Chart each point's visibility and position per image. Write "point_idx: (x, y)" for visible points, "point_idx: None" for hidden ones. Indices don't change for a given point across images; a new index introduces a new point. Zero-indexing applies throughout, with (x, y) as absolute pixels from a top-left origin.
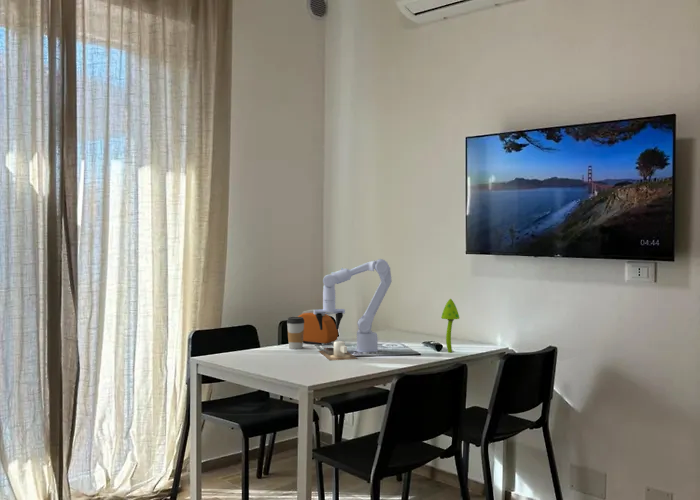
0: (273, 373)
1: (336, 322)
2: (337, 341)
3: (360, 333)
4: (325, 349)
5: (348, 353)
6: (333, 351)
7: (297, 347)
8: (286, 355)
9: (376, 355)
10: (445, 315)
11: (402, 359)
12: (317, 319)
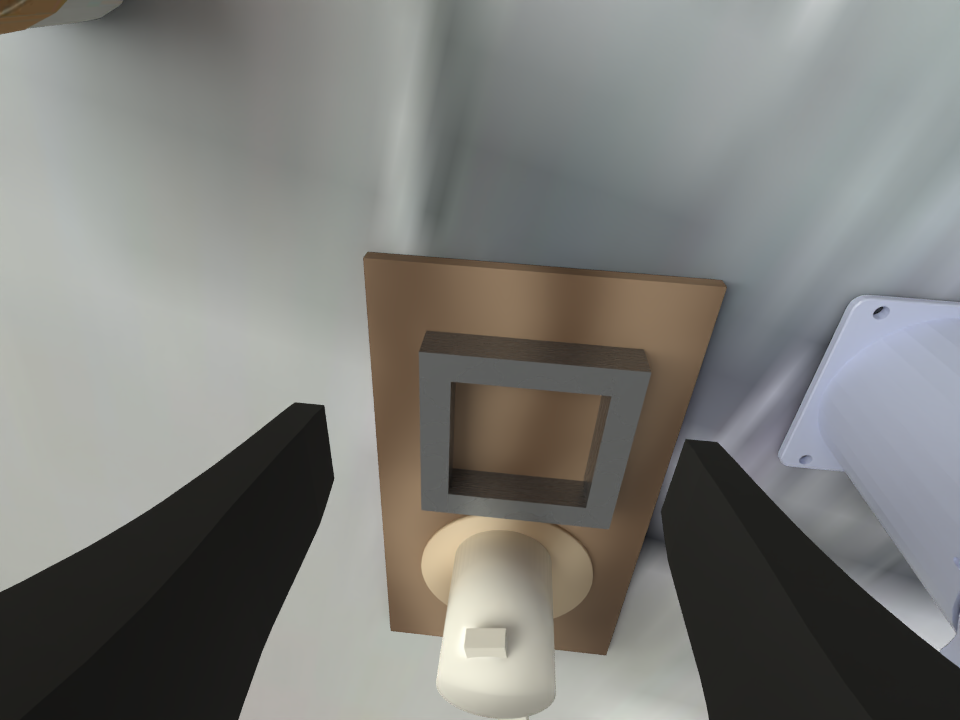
0: None
1: (740, 590)
2: (485, 673)
3: (944, 651)
4: (420, 420)
5: (638, 491)
6: (477, 512)
7: (59, 23)
8: (23, 323)
9: (856, 569)
10: None
11: None
12: (48, 583)
